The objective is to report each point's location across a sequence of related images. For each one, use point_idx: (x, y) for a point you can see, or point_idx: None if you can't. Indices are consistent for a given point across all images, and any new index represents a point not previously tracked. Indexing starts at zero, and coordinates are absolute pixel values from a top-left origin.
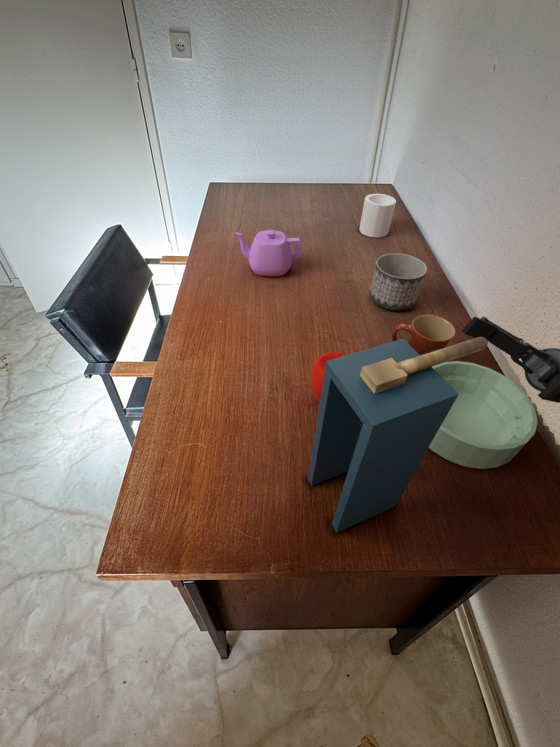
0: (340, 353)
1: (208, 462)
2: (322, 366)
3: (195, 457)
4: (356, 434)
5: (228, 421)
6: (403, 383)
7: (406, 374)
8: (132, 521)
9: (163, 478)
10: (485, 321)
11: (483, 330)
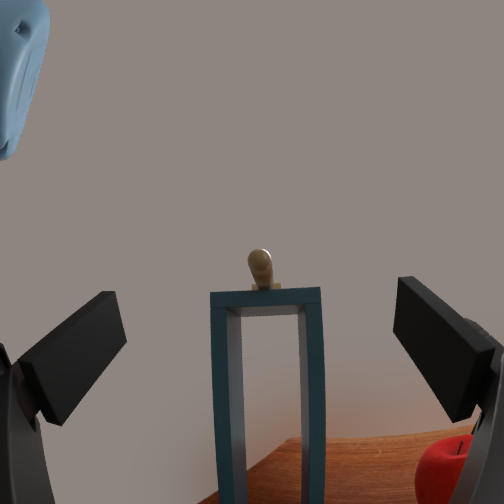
0: None
1: (357, 458)
2: (452, 439)
3: (364, 453)
4: (305, 447)
5: (405, 462)
6: None
7: (253, 284)
8: None
9: (348, 445)
10: (442, 304)
11: (429, 341)
